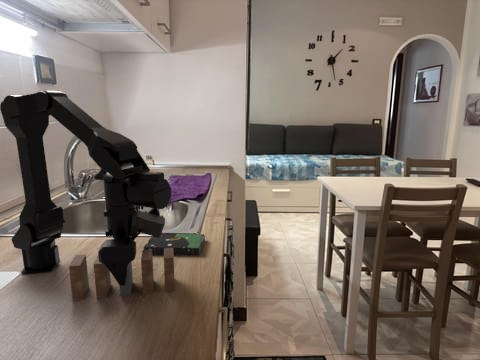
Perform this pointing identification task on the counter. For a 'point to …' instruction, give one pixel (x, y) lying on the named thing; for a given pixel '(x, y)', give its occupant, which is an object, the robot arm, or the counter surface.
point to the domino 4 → (147, 271)
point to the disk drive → (177, 243)
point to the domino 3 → (127, 282)
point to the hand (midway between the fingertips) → (125, 273)
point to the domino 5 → (169, 269)
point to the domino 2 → (101, 279)
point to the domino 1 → (78, 277)
